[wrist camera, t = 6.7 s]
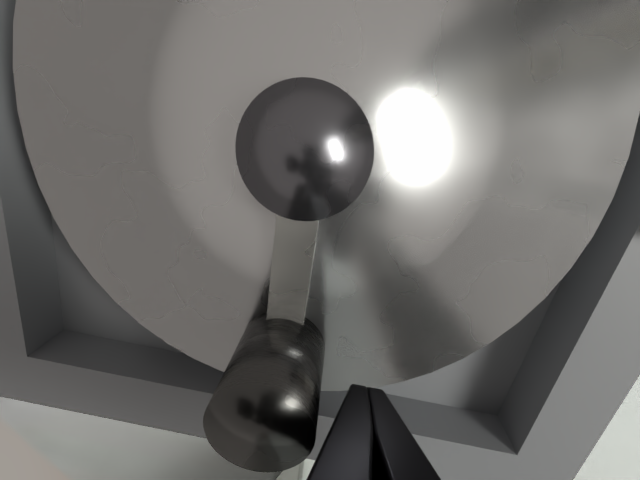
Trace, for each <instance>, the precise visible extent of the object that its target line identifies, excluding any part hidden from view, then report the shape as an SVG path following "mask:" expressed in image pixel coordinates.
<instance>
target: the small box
mask: <svg viewBox="0 0 640 480" xmlns="http://www.w3.org/2000/svg"><path fill="white" fill-rule="evenodd" d="M314 462H315V460H311V459H305V460H304V461H303V462H301V463H300V464H298V465H296V466H295V467H292V468H290V469H287V470H283V472H282V473H281V474H280V475H279V476H278V477H277V479H276V480H306V479H307V477H308V475H309V473H310V471H311V469H312V466H313V464H314Z"/></svg>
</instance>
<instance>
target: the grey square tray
mask: <svg viewBox="0 0 640 480" xmlns="http://www.w3.org/2000/svg"><path fill="white" fill-rule="evenodd" d="M15 4H16V0H0V396H1V397H6V398H11V399H16V400H20V401H25V402H30V403H35V404H40V405H45V406H50V407H55V408H60V409H65V410H70V411H75V412H79V413H84V414H89V415H94V416H99V417H104V418H109V419H114V420H119V421H124V422H129V423H134V424H139V425H143V426H148V427H153V428H158V429H163V430H168V431H173V432H178V433H183V434H188V435H193V436H198V437H202V438H207V437H206V435H205V432H204V428H203V416H204V413H205V410H206V408H207V406H208V404H209V402H210V400H211V398H212V396H213V394H214V392H215V390H216V388H217V386H218V384H219V382H220V380H221V378H222V376H223V374H224V372H223V371H220V370H218V369H215V368H213V367H211V366H209V365H207V364H204V363H202V362H200V361H198V360H196V359H193V358H191V357H190V356H188V355H186V354H185V353H183V352H181V351H179V350H178V349H176V348H174V347H173V346H171V345H169V344H167V343H166V342H164V341H163V340H162V339H160V338H159V337H157V336H156V335H155V334H153V333H152V332H151V331H149V330H148V329H146V328H145V327H144V326H142V325H141V324H140V323H138V322H137V321H136V320H135V319H134V318H133V317H132V316H131V315H129V314H128V313H127V312H126V311H125V310H124V309H123V308H122V307H121V306H119V305H118V304H117V303H116V302H115V301H114V300H113V299H112V298H111V297H110V295H109V294H108V293H107V292H106V291H105V290H104V289H103V288H102V287H101V286H100V285H99V283H98V282H97V281H96V280H95V279H94V278H93V277H92V275H91V274H90V273H89V271H88V270H87V269H86V267H85V266H84V265H83V263H82V262H81V261H80V259H79V258H78V257H77V255H76V254H75V253H74V251H73V250H72V248H71V247H70V245H69V243H68V241H67V240H66V238H65V236H64V235H63V233H62V231H61V230H60V228H59V226H58V225H57V223H56V221H55V220H54V218H53V216H52V213H51V211H50V209H49V207H48V205H47V203H46V200H45V198H44V196H43V194H42V192H41V190H40V187H39V185H38V182H37V179H36V176H35V174H34V171H33V168H32V165H31V162H30V159H29V156H28V153H27V150H26V146H25V142H24V137H23V133H22V128H21V124H20V119H19V115H18V110H17V103H16V93H15V84H14V74H13V19H14V12H15ZM639 375H640V113H639V117H638V121H637V125H636V129H635V134H634V138H633V142H632V146H631V150H630V154H629V158H628V160H627V163H626V166H625V168H624V171H623V174H622V176H621V179H620V182H619V184H618V187H617V190H616V192H615V195H614V197H613V200H612V201H611V203H610V205H609V207H608V209H607V211H606V213H605V215H604V217H603V219H602V221H601V222H600V224H599V226H598V228H597V230H596V232H595V234H594V236H593V237H592V239H591V240H590V242H589V243H588V244H587V246H586V247H585V249H584V250H583V252H582V253H581V255H580V256H579V258H578V259H577V261H576V262H575V263H574V265H573V266H572V268H571V269H570V270H569V271H568V273H567V274H566V275H565V276H564V277H563V278H562V279H561V281H560V282H559V283H558V284H557V285H556V286H555V288H554V289H553V290H552V291H551V292H550V293H549V294H548V296H547V297H546V298H545V299H544V300H543V301H541V302H540V303H539V304H538V305H537V306H536V307H535V308H534V309H533V310H532V311H530V312H529V313H528V314H527V315H526V316H525V317H524V318H523V319H522V320H521V321H520V322H518V323H517V324H516V325H514V326H513V327H512V328H510V329H509V330H507V331H506V332H505V333H503V334H502V335H501V336H499V337H498V338H496V339H495V340H494V341H492V342H491V343H489V344H488V345H486V346H484V347H482V348H481V349H479V350H477V351H475V352H474V353H472V354H470V355H468V356H467V357H465V358H463V359H461V360H459V361H457V362H455V363H452V364H450V365H448V366H445V367H443V368H441V369H438V370H436V371H434V372H431V373H429V374H425V375H422V376H419V377H416V378H413V379H409V380H406V381H403V382H399V383H394V384H389V385H384V386H379V387H374V388H378V389H382V390H383V391H384V392H385V393H386V395H387V397H388V398H389V400H390V401H391V403H392V404H393V406H394V407H395V409H396V410H397V412H398V414H399V415H400V417H401V418H402V420H403V421H404V423H405V424H406V426H407V428H408V429H409V431H410V432H411V434H412V435H413V437H414V438H415V440H416V442H417V443H418V445H419V446H420V448H421V449H422V451H423V452H424V454H425V455H426V457H427V459H428V460H429V462H430V463H431V465H432V466H433V468H434V469H435V471H436V473H437V474H438V476H439V477H440V479H441V480H573V479H574V478H575V476H576V474H577V473H578V471H579V470H580V468H581V467H582V465H583V463H584V462H585V460H586V459H587V457H588V455H589V454H590V452H591V451H592V449H593V448H594V446H595V444H596V443H597V441H598V440H599V438H600V437H601V435H602V433H603V432H604V430H605V429H606V427H607V426H608V424H609V422H610V421H611V419H612V418H613V416H614V415H615V413H616V411H617V410H618V408H619V407H620V405H621V403H622V402H623V400H624V399H625V397H626V396H627V394H628V392H629V391H630V389H631V388H632V386H633V385H634V383H635V381H636V380H637V378H638V377H639ZM347 391H348V390H346V391H321V393H320V402H319V412H318V422H317V431H316V441H315V445H314V448H313V450H312V452H311V453H310V454H309V456H308V457H307V458H306V459H311V460H316V458H317V456H318V454H319V451H320V449H321V447H322V445H323V443H324V441H325V438H326V436H327V434H328V432H329V430H330V428H331V426H332V423H333V421H334V419H335V417H336V415H337V413H338V411H339V408H340V406H341V404H342V402H343V400H344V398H345V396H346V393H347Z"/></svg>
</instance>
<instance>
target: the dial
mask: <svg viewBox="0 0 640 480" xmlns="http://www.w3.org/2000/svg"><path fill="white" fill-rule="evenodd" d="M13 74H14V84H15V93H16V103H17V110H18V115H19V119H20V124H21V128H22V133H23V137H24V142H25V146H26V150H27V153H28V156H29V159H30V162H31V165H32V168H33V171H34V174H35V176H36V179H37V182H38V185H39V187H40V190H41V192H42V194H43V196H44V198H45V200H46V203H47V205H48V207H49V209H50V211H51V213H52V216H53V218H54V220H55V221H56V223H57V225H58V226H59V228H60V230H61V231H62V233H63V235H64V236H65V238H66V240H67V241H68V243H69V245H70V247H71V248H72V250H73V251H74V253H75V254H76V255H77V257H78V258H79V259H80V261H81V262H82V263H83V265H84V266H85V267H86V269H87V270H88V271H89V273H90V274H91V275H92V277H93V278H94V279H95V280H96V281H97V282H98V283H99V285H100V286H101V287H102V288H103V289H104V290H105V291H106V292H107V293H108V294H109V295H110V297H111V298H112V299H113V300H114V301H115V302H116V303H117V304H118V305H119V306H121V307H122V308H123V309H124V310H125V311H126V312H127V313H128V314H129V315H131V316H132V317H133V318H134V319H135V320H136V321H137V322H138V323H140V324H141V325H142V326H144V327H145V328H146V329H148V330H149V331H151V332H152V333H153V334H155V335H156V336H157V337H159V338H160V339H162V340H163V341H164V342H166V343H167V344H169V345H171V346H173V347H174V348H176V349H178V350H179V351H181V352H183V353H185V354H186V355H188V356H190V357H191V358H193V359H196V360H198V361H200V362H202V363H204V364H207V365H209V366H211V367H213V368H215V369H218V370H220V371H223V372H224V374H223V376H222V378H221V380H220V382H219V384H218V386H217V388H216V390H215V392H214V394H213V396H212V398H211V400H210V402H209V404H208V406H207V408H206V410H205V413H204V416H203V428H204V432H205V435H206V437H207V439H208V441H209V443H210V444H211V446H212V447H213V448H214V449H215V450H216V451H217V452H218V453H219V454H220V455H221V456H222V457H223V458H225V459H226V460H228V461H229V462H231V463H233V464H235V465H237V466H240V467H242V468H245V469H249V470H253V471H259V472H277V471H283V470H287V469H290V468H292V467H295V466H296V465H298V464H300V463H301V462H303V461H304V460H305V459H306V458H307V457H308V456H309V454H310V453H311V452H312V450H313V448H314V445H315V441H316V431H317V422H318V412H319V402H320V393H321V391H346V390H348V389H349V387H350V385H351V384H357V385H362V386H366V387H372V388H374V387H379V386H384V385H389V384H394V383H399V382H403V381H406V380H409V379H413V378H416V377H419V376H422V375H425V374H429V373H431V372H434V371H436V370H438V369H441V368H443V367H445V366H448V365H450V364H452V363H455V362H457V361H459V360H461V359H463V358H465V357H467V356H468V355H470V354H472V353H474V352H475V351H477V350H479V349H481V348H482V347H484V346H486V345H488V344H489V343H491V342H492V341H494V340H495V339H496V338H498V337H499V336H501V335H502V334H503V333H505V332H506V331H507V330H509V329H510V328H512V327H513V326H514V325H516V324H517V323H518V322H520V321H521V320H522V319H523V318H524V317H525V316H526V315H527V314H528V313H529V312H530V311H532V310H533V309H534V308H535V307H536V306H537V305H538V304H539V303H540V302H541V301H543V300H544V299H545V298H546V297H547V296H548V294H549V293H550V292H551V291H552V290H553V289H554V288H555V286H556V285H557V284H558V283H559V282H560V281H561V279H562V278H563V277H564V276H565V275H566V274H567V273H568V271H569V270H570V269H571V268H572V266H573V265H574V263H575V262H576V261H577V259H578V258H579V256H580V255H581V253H582V252H583V250H584V249H585V247H586V246H587V244H588V243H589V242H590V240H591V239H592V237H593V236H594V234H595V232H596V230H597V228H598V226H599V224H600V222H601V221H602V219H603V217H604V215H605V213H606V211H607V209H608V207H609V205H610V203H611V201H612V200H613V197H614V195H615V192H616V190H617V187H618V184H619V182H620V179H621V176H622V174H623V171H624V168H625V166H626V163H627V160H628V158H629V154H630V150H631V146H632V142H633V138H634V134H635V129H636V125H637V121H638V117H639V113H640V0H16V4H15V12H14V19H13Z"/></svg>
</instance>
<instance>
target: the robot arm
mask: <svg viewBox="0 0 640 480" xmlns="http://www.w3.org/2000/svg"><path fill="white" fill-rule="evenodd" d="M306 480H441V479H440V477H439V476H438V474H437V473H436V471H435V469H434V468H433V466H432V465H431V463H430V462H429V460H428V459H427V457H426V455H425V454H424V452H423V451H422V449H421V448H420V446H419V445H418V443H417V442H416V440H415V438H414V437H413V435H412V434H411V432H410V431H409V429H408V428H407V426H406V424H405V423H404V421H403V420H402V418H401V417H400V415H399V414H398V412H397V410H396V409H395V407H394V406H393V404H392V403H391V401H390V400H389V398H388V397H387V395H386V393H385V392H384V391H383V390H382V389H378V388H372V387H366V386H362V385H357V384H351V385H350V387H349V389H348V391H347V393H346V396H345V398H344V400H343V402H342V404H341V406H340V408H339V411H338V413H337V415H336V417H335V419H334V421H333V423H332V426H331V428H330V430H329V432H328V434H327V436H326V438H325V441H324V443H323V445H322V447H321V449H320V451H319V454H318V456H317V458H316V460H315V462H314V464H313V466H312V469H311V471H310V473H309V475H308V477H307V479H306Z"/></svg>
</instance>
